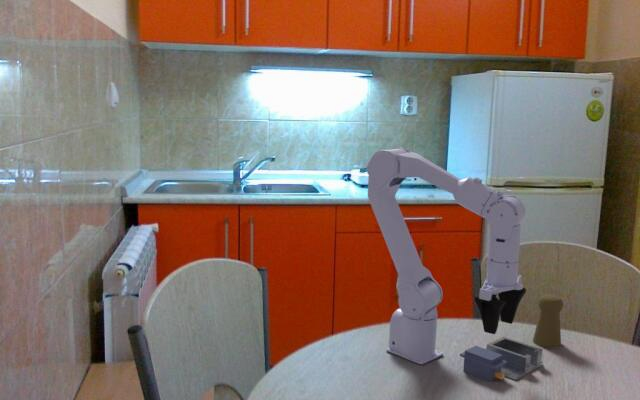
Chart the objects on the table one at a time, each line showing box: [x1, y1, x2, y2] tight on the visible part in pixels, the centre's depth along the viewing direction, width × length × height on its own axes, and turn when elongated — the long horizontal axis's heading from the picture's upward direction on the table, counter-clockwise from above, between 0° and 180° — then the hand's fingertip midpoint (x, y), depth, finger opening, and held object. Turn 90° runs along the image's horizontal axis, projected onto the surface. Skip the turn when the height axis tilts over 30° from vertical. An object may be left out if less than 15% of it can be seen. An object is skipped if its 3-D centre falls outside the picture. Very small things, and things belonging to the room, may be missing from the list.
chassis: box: [485, 336, 544, 381], centre depth 127 cm, size 11×11×4 cm
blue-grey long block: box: [459, 345, 507, 383], centre depth 121 cm, size 9×4×4 cm, turn 44°
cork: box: [532, 294, 564, 349], centre depth 138 cm, size 6×6×11 cm
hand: (498, 327), depth 120 cm, fingers open, 7 cm apart
